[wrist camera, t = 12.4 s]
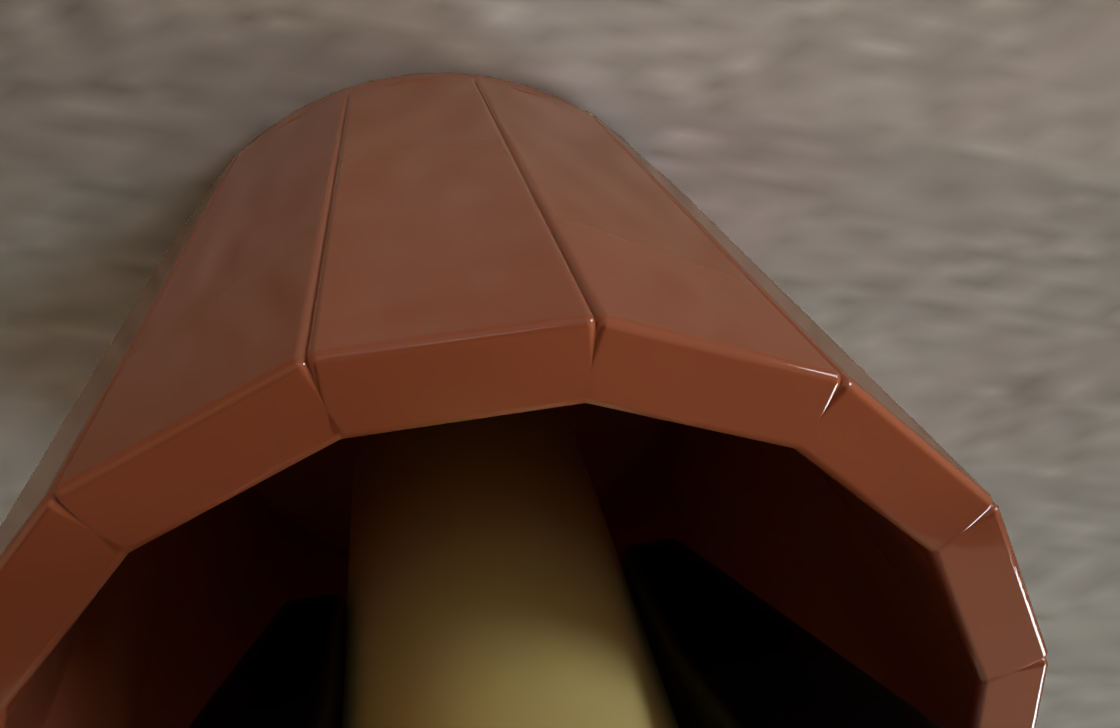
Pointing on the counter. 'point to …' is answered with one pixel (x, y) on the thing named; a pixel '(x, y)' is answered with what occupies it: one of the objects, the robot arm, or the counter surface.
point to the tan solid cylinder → (489, 586)
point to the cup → (479, 413)
